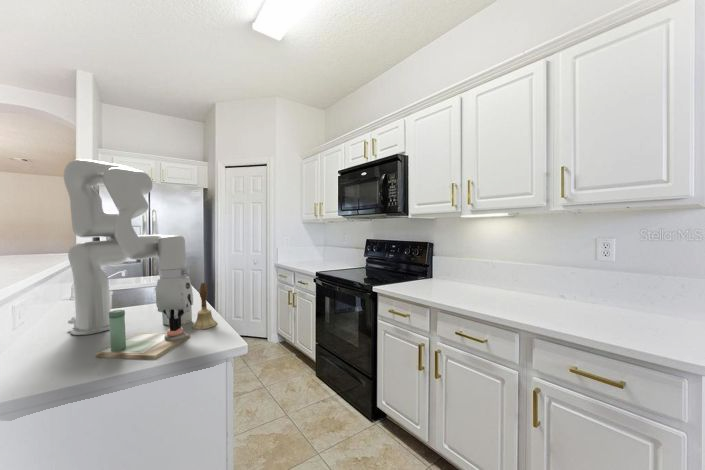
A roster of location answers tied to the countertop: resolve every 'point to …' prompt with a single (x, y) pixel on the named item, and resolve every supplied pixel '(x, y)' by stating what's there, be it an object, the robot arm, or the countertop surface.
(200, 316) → the hand bell
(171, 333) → the button
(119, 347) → the green cylinder
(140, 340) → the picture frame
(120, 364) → the countertop surface
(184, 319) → the supplement box
